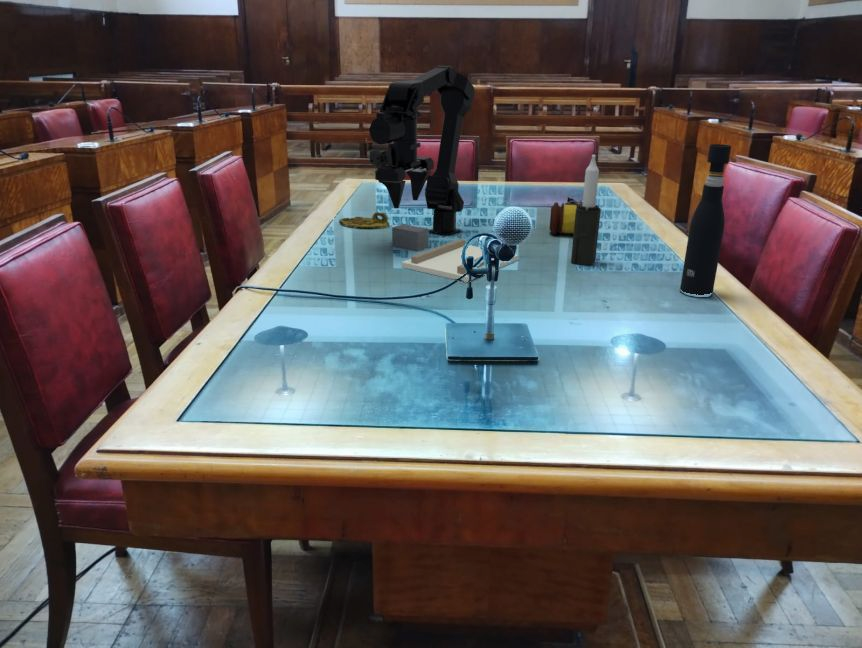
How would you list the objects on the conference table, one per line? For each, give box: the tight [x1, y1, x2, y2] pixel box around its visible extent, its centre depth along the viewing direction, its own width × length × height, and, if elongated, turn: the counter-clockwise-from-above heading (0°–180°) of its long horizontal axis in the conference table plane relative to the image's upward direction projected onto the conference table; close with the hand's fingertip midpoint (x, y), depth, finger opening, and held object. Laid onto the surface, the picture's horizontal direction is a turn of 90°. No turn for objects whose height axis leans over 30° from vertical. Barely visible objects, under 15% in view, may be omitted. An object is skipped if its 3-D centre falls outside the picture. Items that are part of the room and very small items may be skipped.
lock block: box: [391, 223, 430, 252], centre depth 173 cm, size 4×8×5 cm, turn 54°
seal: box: [338, 211, 390, 230], centre depth 193 cm, size 9×5×15 cm
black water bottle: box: [679, 143, 732, 295], centre depth 138 cm, size 6×6×30 cm
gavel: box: [549, 197, 583, 236], centre depth 196 cm, size 10×34×10 cm
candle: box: [570, 154, 602, 267], centre depth 159 cm, size 5×5×25 cm
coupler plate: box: [401, 238, 519, 283], centre depth 160 cm, size 22×18×3 cm
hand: (405, 204), depth 169 cm, fingers open, 9 cm apart
